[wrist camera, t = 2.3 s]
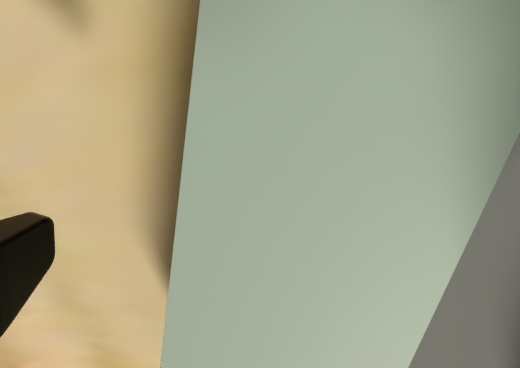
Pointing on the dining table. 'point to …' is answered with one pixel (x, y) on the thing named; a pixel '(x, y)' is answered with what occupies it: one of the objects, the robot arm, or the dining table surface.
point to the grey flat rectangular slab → (482, 289)
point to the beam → (334, 175)
